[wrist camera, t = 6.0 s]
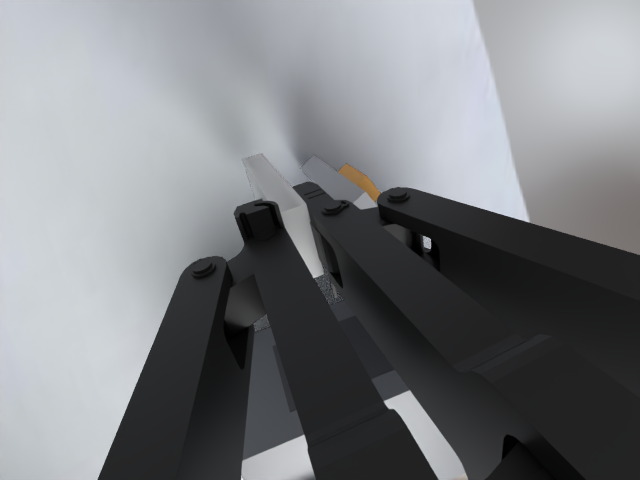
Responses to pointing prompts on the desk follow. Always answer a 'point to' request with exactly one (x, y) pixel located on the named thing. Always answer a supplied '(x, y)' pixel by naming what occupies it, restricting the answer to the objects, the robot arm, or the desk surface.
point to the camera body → (284, 424)
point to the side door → (342, 183)
